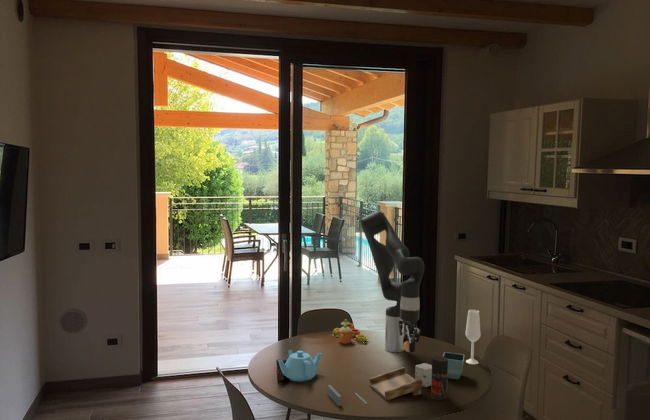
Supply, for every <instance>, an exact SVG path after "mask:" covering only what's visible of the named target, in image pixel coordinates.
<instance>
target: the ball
mask: <svg viewBox="0 0 650 420" xmlns="http://www.w3.org/2000/svg"><path fill="white" fill-rule="evenodd" d="M409 343H410V342H409V341H406V342H405V343H404V344H403V348H404V351H405V352H407V353H410V352H409Z"/></svg>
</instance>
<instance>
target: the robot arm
mask: <svg viewBox="0 0 650 420" xmlns="http://www.w3.org/2000/svg"><path fill="white" fill-rule="evenodd" d="M360 225H361V228H362V230H363V233H364V236H365V238H366V241H367V243H368V245H369V246H368V247H369V249H370V252H371V256H372V259H373V262H374V265H375V268H376V272H377V275H378V277H379V282H380V287H381V291H382V295H383V299H385V300H387V301H392V302H396V304H395V305H393V306H392V305H391V306H389V307H386V309H385V333H384V335H385V336H384V347H385V348H384V350H386V352H390V353H401V352H404V351H405V350H404V348H403V344H404V343H405V342H406V341H409V342H410V343H409V352H408V353H414V352H415V350H416V343H419V341H420V337H421V332H422V329H421V328H418V325H417V322H418V321H419V319H420V307H421V306H420V305H421V304H420V302H421V301H420V286H421V282H422V279H423V276H424V273H425V263H424V260H423V258H421V257H420V256H412V257H411V256H410V250H409V248H408V247H407V246H406V245H405V244H404V242H403V241H402V240H401V239H400V237H399V236H398V234H397V233H396V231H395V230H394V227H393V226H392V225H391V223H390V221H389V220H388V218H387V216H386V215H385V214H384V212H382V211H380V210H377V211H373V212H371V213H370V214H368V215H365V216H363V217H362V218H361V219H360ZM382 232H385V235H386V236H385V244H383V243H382V242H380V241H379V240H377V238H376V237H375V236H376V235H378V234H379V233H382ZM395 266H396V269H397V272H398V273H399V274H400V275H403V276H406V277H407V276H410V277H409V278H408V279H406V280H404V281H402V282H398V281H392V280H391V279H390V276H391V273H392V272H393V270H394V268H395Z"/></svg>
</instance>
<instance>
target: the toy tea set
mask: <svg viewBox="0 0 650 420" xmlns="http://www.w3.org/2000/svg"><path fill="white" fill-rule="evenodd" d="M340 325H341V326H342V327H340V328H339V327H336V328H334V329H333V331H332V334H331V335H332V336H333V337H336V338H338V343H340V344H343V345H346V344H347V343H348V344H350V343H352V337H356V338H353V340H354V341H353V342H354V343H355V342H356V344H359V343H363V342H364V343H363V344H366V342H367V343H368V340H369V338H368V337H367V335H365V334H361V330H360V329H358V328H354V325H355V324H354V323H351V322H349V321H348V320H347V319H344V320H343V321H342V322H341V323H340ZM365 341H366V342H365ZM358 342H359V343H358Z"/></svg>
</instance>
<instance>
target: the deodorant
mask: <svg viewBox="0 0 650 420" xmlns="http://www.w3.org/2000/svg"><path fill="white" fill-rule="evenodd" d="M431 358H432V359H431V365H432V380H431V385H430V386H431V389H430V390H431V391H430V397H431V398H432V399H434V400H438V401H444V400H446V399H447V398H448V378H447V376H448V358H446V357H443V355H435V356H432V357H431Z"/></svg>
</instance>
